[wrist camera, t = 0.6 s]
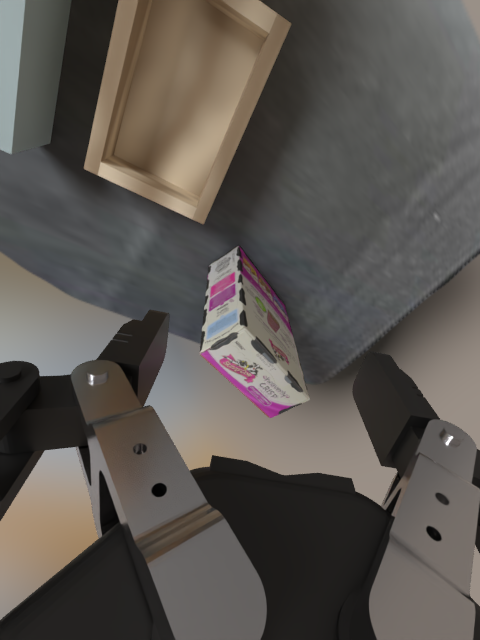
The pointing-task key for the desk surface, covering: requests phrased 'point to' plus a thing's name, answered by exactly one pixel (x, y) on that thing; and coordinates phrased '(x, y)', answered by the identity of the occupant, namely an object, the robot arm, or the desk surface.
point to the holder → (180, 96)
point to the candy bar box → (251, 336)
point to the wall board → (30, 70)
